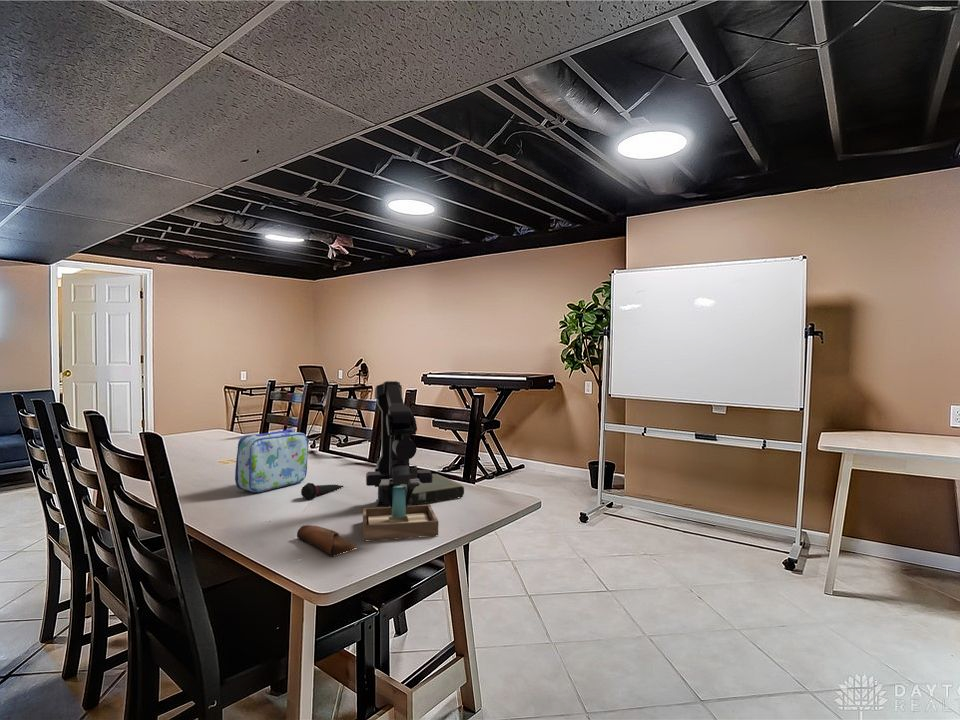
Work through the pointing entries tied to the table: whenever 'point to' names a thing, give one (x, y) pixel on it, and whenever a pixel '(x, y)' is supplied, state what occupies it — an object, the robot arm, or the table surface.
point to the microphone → (317, 490)
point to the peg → (398, 501)
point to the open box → (399, 523)
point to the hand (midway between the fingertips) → (398, 506)
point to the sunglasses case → (325, 539)
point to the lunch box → (271, 460)
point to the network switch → (435, 490)
